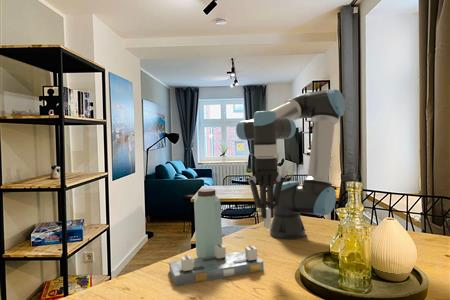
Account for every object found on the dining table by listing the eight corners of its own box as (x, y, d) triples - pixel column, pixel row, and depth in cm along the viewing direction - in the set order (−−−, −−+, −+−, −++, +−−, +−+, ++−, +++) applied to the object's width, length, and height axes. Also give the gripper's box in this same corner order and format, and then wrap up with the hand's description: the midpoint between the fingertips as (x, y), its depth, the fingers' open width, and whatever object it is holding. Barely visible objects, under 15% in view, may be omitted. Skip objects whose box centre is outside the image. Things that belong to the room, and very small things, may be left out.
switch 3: (253, 256, 114) (253, 244, 114) (257, 259, 111) (256, 247, 111) (245, 257, 113) (245, 246, 113) (248, 260, 110) (248, 248, 110)
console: (250, 258, 122) (249, 249, 122) (263, 270, 110) (263, 261, 110) (169, 271, 113) (169, 261, 113) (175, 286, 101) (175, 275, 101)
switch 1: (190, 266, 108) (190, 254, 107) (192, 269, 105) (192, 257, 105) (181, 267, 107) (181, 255, 106) (183, 271, 104) (182, 258, 104)
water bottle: (219, 262, 119) (216, 192, 118) (192, 261, 121) (189, 192, 120) (225, 252, 128) (222, 187, 127) (200, 252, 130) (197, 187, 129)
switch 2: (223, 254, 117) (222, 243, 117) (225, 257, 114) (225, 245, 114) (214, 255, 116) (214, 244, 116) (217, 258, 113) (216, 247, 113)
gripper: (278, 156, 118) (279, 222, 119) (243, 157, 114) (245, 226, 115) (288, 157, 111) (290, 228, 112) (251, 158, 107) (253, 232, 108)
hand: (267, 227), depth 113 cm, fingers closed
